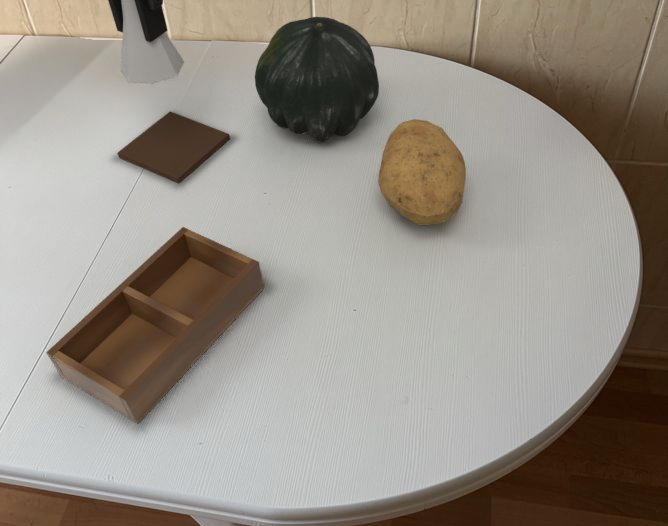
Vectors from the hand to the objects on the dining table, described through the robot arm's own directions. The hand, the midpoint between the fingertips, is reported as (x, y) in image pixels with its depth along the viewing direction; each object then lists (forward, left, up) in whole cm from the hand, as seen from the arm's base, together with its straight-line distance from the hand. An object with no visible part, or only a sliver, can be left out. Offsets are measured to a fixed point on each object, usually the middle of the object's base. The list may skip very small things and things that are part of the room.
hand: (142, 30), depth 76 cm
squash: (+13, +14, -16) cm, 25 cm away
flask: (0, 0, -5) cm, 5 cm away
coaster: (0, 0, -16) cm, 16 cm away
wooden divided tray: (+19, -23, -16) cm, 34 cm away
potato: (+32, +6, -16) cm, 36 cm away
